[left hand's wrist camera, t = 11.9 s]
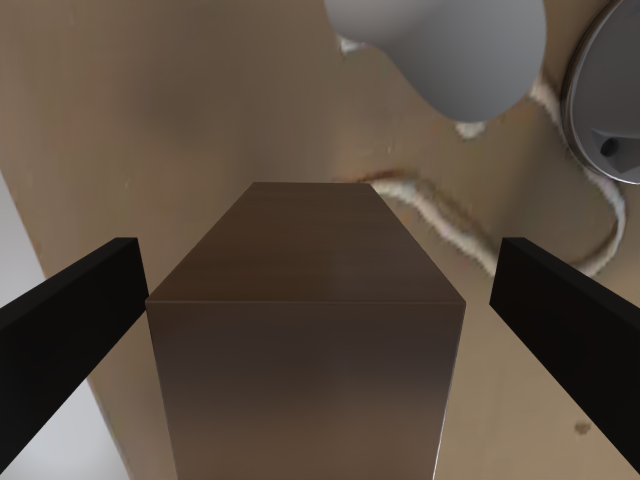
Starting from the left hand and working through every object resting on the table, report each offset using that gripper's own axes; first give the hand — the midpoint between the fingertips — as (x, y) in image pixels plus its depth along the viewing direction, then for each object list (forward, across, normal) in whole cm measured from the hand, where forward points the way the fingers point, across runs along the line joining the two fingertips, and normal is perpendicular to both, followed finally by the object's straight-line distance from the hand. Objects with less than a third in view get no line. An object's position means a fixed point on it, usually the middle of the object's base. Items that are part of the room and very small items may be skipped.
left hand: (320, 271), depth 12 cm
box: (+6, -1, -11) cm, 12 cm away
